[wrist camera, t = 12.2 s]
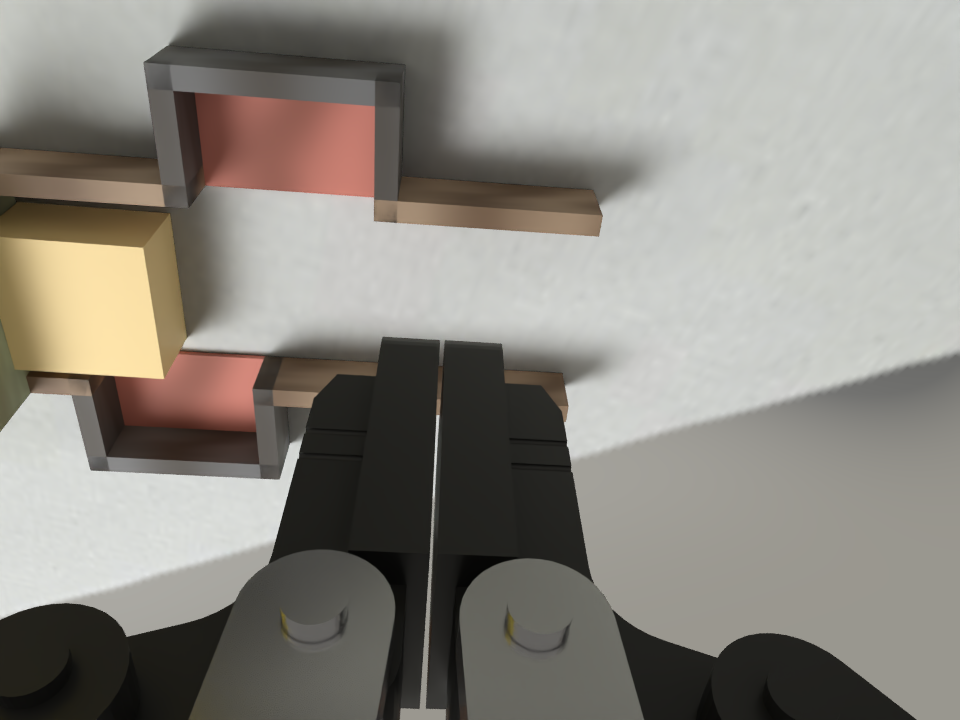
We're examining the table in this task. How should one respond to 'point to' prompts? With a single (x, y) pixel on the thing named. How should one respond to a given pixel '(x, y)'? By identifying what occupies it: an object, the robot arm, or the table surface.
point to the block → (90, 290)
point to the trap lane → (269, 166)
